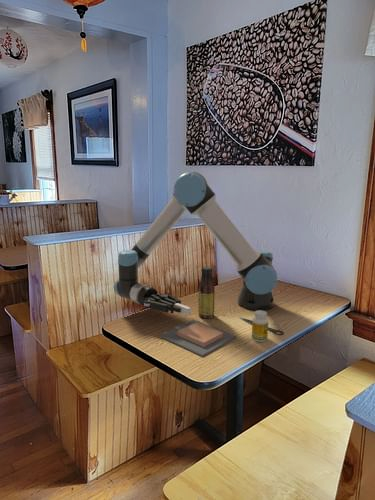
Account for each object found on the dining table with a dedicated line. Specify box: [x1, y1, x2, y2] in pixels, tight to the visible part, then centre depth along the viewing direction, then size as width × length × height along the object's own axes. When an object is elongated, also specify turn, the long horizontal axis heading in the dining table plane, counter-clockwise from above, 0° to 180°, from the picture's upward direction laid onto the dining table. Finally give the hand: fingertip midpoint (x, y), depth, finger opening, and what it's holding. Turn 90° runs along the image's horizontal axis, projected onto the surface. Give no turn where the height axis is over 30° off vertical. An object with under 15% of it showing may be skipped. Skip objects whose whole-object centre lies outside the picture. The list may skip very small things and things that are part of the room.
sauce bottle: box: [197, 265, 216, 319], centre depth 141 cm, size 7×6×20 cm
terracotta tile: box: [177, 322, 223, 347], centre depth 125 cm, size 2×10×12 cm
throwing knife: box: [239, 317, 285, 336], centre depth 136 cm, size 4×20×1 cm, turn 43°
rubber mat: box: [158, 319, 238, 358], centre depth 126 cm, size 20×18×1 cm
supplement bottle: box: [251, 310, 270, 343], centre depth 124 cm, size 5×5×10 cm
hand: (189, 312), depth 126 cm, fingers closed
